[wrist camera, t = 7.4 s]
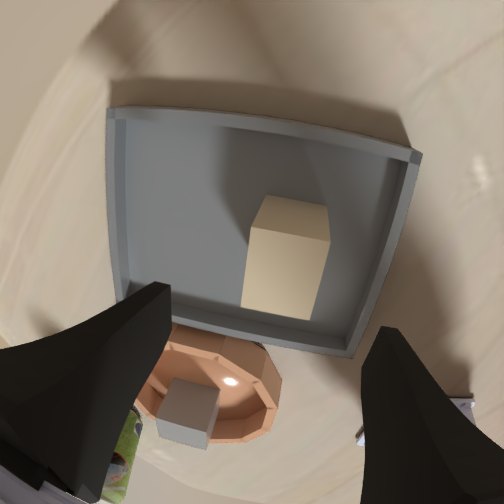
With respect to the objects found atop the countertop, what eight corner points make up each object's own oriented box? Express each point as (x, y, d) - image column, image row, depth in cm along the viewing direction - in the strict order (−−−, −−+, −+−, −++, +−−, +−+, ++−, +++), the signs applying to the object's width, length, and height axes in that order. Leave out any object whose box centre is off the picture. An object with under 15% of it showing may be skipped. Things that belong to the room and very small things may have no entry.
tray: (412, 147, 15) (422, 153, 13) (350, 340, 21) (352, 358, 19) (123, 105, 16) (106, 107, 15) (128, 292, 22) (117, 306, 21)
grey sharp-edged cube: (220, 389, 25) (206, 432, 21) (219, 410, 26) (206, 450, 22) (174, 377, 25) (155, 417, 21) (176, 398, 27) (159, 436, 23)
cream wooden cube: (266, 194, 17) (250, 226, 13) (326, 206, 16) (330, 242, 13) (256, 261, 19) (240, 306, 15) (311, 271, 18) (309, 320, 14)
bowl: (294, 339, 22) (290, 369, 19) (266, 429, 27) (261, 453, 25) (127, 300, 23) (109, 323, 20) (143, 397, 29) (132, 418, 26)
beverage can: (97, 385, 30) (44, 470, 19) (158, 414, 30) (115, 509, 19) (99, 411, 33) (56, 486, 22) (154, 437, 33) (118, 518, 22)
